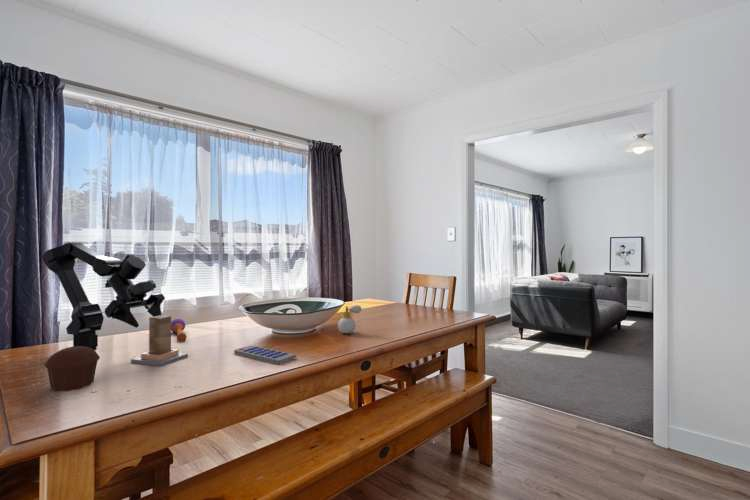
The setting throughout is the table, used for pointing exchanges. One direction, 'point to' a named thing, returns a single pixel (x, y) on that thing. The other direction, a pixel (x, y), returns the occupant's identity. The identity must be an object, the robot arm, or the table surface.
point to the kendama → (178, 329)
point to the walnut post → (159, 334)
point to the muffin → (72, 368)
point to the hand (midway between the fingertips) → (150, 323)
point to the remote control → (264, 354)
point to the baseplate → (159, 358)
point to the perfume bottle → (348, 320)
